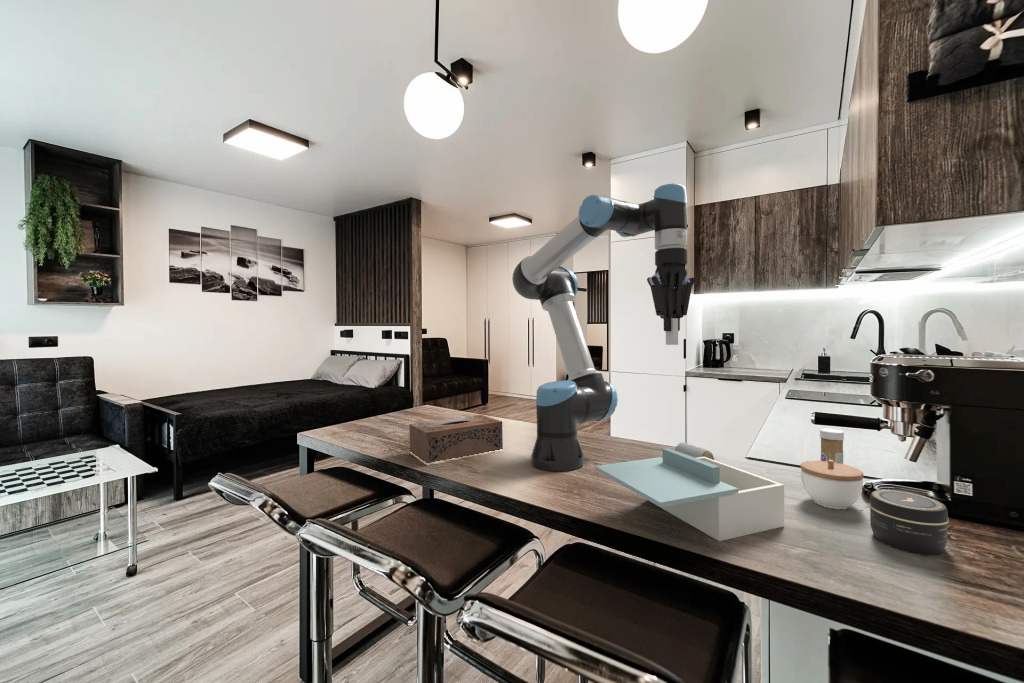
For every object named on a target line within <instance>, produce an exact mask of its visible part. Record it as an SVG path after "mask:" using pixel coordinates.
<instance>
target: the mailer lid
mask: <svg viewBox="0 0 1024 683" xmlns="http://www.w3.org/2000/svg"><path fill="white" fill-rule="evenodd" d="M594 470H595V471H597V472H598V473H601V474H602V475H604V477H608V478H609V479H611V480H612V481H614V482H616V483H617V484H620V486H622V487H625V488H627V489H628V490H630V491H632V492H633V493H635V494H636V495H639V496H640V497H642V498H644V499H645V500H647V501H648V500H649V503H652V504H654V505H655V504H656V505H655V506H657V507H659V508H661V507H665V506H670V505H676V504H681V503H687V502H692V501H698V500H703V499H708V498H714V497H719V496H725V495H730V494H735V493H738V488H736V487H733V486H731V485H728V484H726V483H723V482H721V481H720V467H719V466H716V465H713V464H711V463H708V462H705V461H702V460H700V459H697V458H694V457H691V456H689V455H686V454H683V453H681V452H678V451H675V449H672V448H670V447H668V448H667V447H666V448H662V456H659V457H652V458H645V459H637V460H636V459H635V460H628V461H622V462H615V463H608V464H601V465H595V466H594Z"/></svg>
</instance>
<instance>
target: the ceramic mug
mask: <svg viewBox="0 0 1024 683" xmlns="http://www.w3.org/2000/svg"><path fill="white" fill-rule="evenodd" d="M674 450H675V451H678V452H681V453H683V454H686V455H689V456H691V457H694V458H697V457H707V458H710V459H712V460H715V457H714V455H713V453H712V452H711V451H710V450H708V449H706V448H702V447H700V446H699V447H698V446H696V445H692V444H689V443H686V442H680V443H678V444H677V445H676V446H675V449H674Z"/></svg>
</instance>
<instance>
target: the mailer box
mask: <svg viewBox="0 0 1024 683" xmlns="http://www.w3.org/2000/svg"><path fill="white" fill-rule="evenodd" d="M697 459H700V460H702V461H705V462H708V463H711V464H713V465H716V466H719V467H720V481H721V482H723V483H726V484H728V485H731V486H733V487H736V488H738V493H735V494H730V495H725V496H719V497H714V498H708V499H703V500H698V501H692V502H687V503H681V504H676V505H670V506H665V507H660V509H662V510H664V511H666V512H668V513H670V514H671V515H672V516H675V517H676V518H678V519H679V520H681V521H683V522H685V523H686V524H688V525H690V526H692V527H693V528H696V529H697V530H699V531H701V532H702V533H704V534H706V535H707V536H709V537H711V538H713V539H714V540H717V541H718V542H723V541H726V540H732V539H736V538H739V537H740V538H741V537H745V536H748V535H749V536H750V535H752V534H756V533H761V532H765V531H771V530H774V529H778V528H783V527H785V484H783V483H780V482H778V481H775V480H772V479H769V478H767V477H764V476H760V475H758V474H755V473H752V472H749V471H746V470H744V469H740V468H738V467H735V466H732V465H728V464H726V463H724V462H720V461H718V460H715V459H714V460H712V459H710V458H707V457H697ZM647 501H649V500H647ZM649 502H650V501H649ZM654 505H655V506H657V505H656V504H654Z"/></svg>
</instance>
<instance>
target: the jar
mask: <svg viewBox="0 0 1024 683" xmlns="http://www.w3.org/2000/svg"><path fill="white" fill-rule="evenodd" d="M869 508H870V509H869V514H870V517H869V519H870V523H869V524H870V528H871V531H872V533H873V535H874V537H875V538H876V539H877V540H878V541H880V543H883V544H885V545H887V546H889V545H890V546H889V547H890V548H894V549H896V548H897V550H899V549H900V551H903V550H904V552H906V551H908V552H907V553H911V554H916V553H917V555H922V554H926V555H925V556H935V555H934V554H936V555H940V554H941V553H943V552H945V548H947V547H946V546H947V545H948V523H949V520H950V519H949V517H948V515H949V514H948V513H949V512H948V508H947V506H946V505H945V504H944V503H942V502H941V501H938V500H936V499H935V498H932V497H928V496H925V495H922V494H917V493H914V492H910V491H909V492H907V491H904V490H903V491H902V490H895V489H878V490H874V491H872V492H870V496H869ZM939 553H940V554H939Z"/></svg>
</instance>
